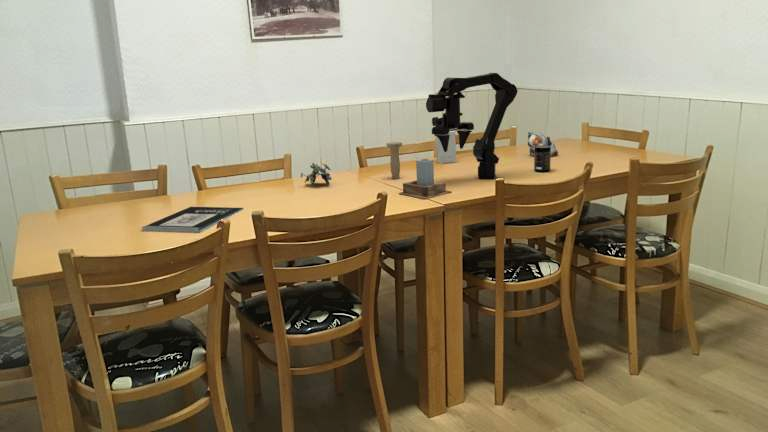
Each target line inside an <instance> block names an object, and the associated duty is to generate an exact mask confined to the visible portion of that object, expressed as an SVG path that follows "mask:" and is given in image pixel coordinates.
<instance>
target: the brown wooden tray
mask: <svg viewBox="0 0 768 432" xmlns="http://www.w3.org/2000/svg"><path fill="white" fill-rule="evenodd" d="M446 185H447V183H446V182H442V181H441V182H438V183H434V184H433V185H429V186H421V185H417V179H416V180H413V181H407V182H404V183H402V191H401V192H398V195H400V196H401V195H402V196H406V197H410V198H415V199H421V200H424V201H425V200H429V199H432V198H435V197H436V196H437V197H440V196H444V195H447V194H451V193H452V190H447V189H446V187H447V186H446ZM437 197H436V198H437Z"/></svg>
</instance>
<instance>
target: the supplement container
mask: <svg viewBox="0 0 768 432" xmlns="http://www.w3.org/2000/svg"><path fill="white" fill-rule="evenodd" d="M533 157H534V159H533V160H534V161H533V162H534V164H533V166H534V167H533V170H534V172H536V173H548V172H550V171H551V157H552V156H551V146H546V145H540V146H535V147H534V156H533Z"/></svg>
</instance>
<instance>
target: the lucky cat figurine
mask: <svg viewBox="0 0 768 432" xmlns="http://www.w3.org/2000/svg"><path fill="white" fill-rule="evenodd" d="M527 135H528V136H527V146H528V148H529V155H531V156H532V157H534V147H535V146H540V145H546V146H551V157H556V156H558V154H559V153H560V152H559V150H558V149H556V145H555V143H554V142H553V141H552V140H551V137H550V135H548V136H545V135H544V134H543V133H541V132H533V131H530V132H529V131H528V134H527Z"/></svg>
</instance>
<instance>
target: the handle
mask: <svg viewBox="0 0 768 432" xmlns="http://www.w3.org/2000/svg"><path fill="white" fill-rule="evenodd" d="M386 147H387V148H389V149H390V173H391V179H393V180H398V179H400V176H401V175H400V173H401V163H400V162H401V161H400V151H399V150H400V148H401V147H403V142H402V141H393V142H387V143H386Z"/></svg>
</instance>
